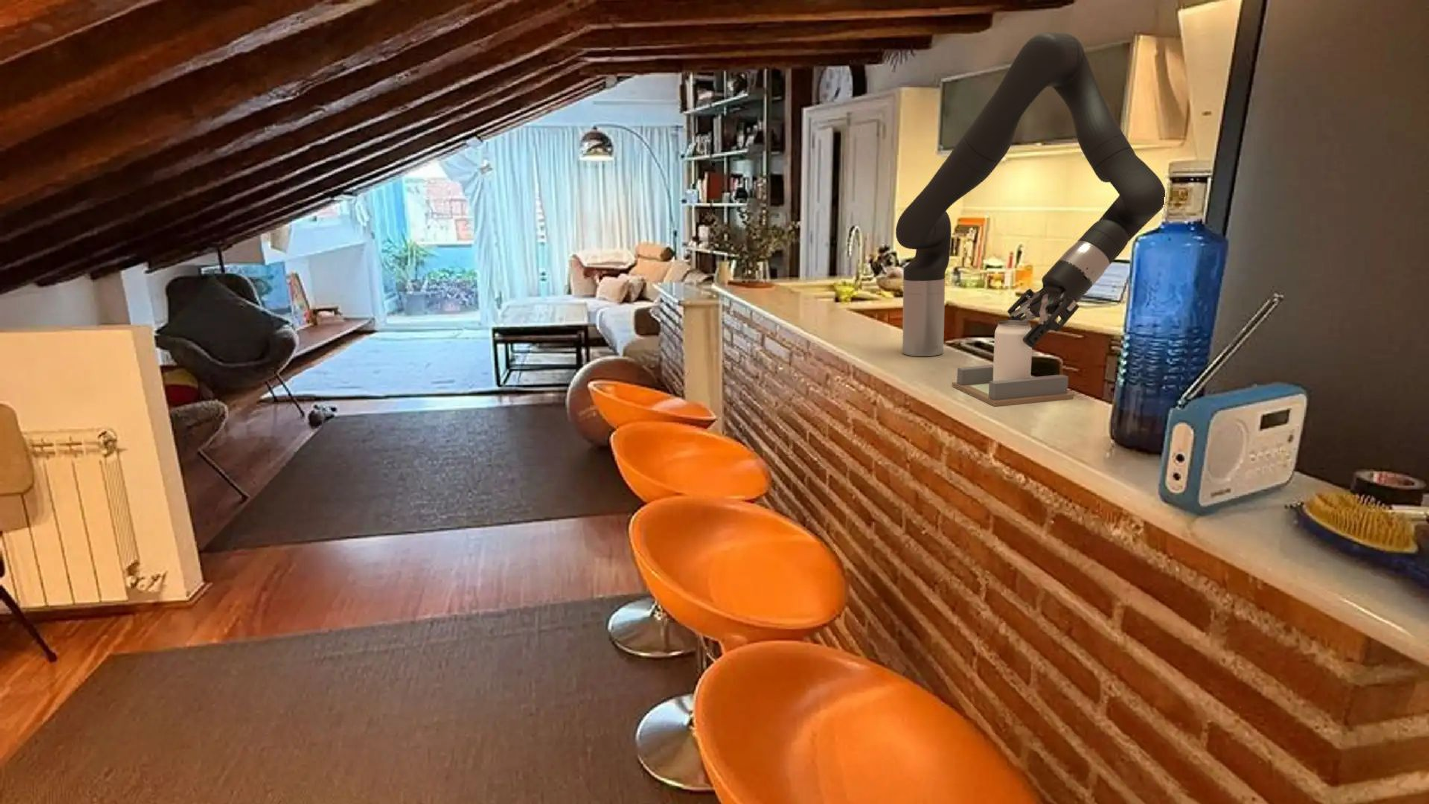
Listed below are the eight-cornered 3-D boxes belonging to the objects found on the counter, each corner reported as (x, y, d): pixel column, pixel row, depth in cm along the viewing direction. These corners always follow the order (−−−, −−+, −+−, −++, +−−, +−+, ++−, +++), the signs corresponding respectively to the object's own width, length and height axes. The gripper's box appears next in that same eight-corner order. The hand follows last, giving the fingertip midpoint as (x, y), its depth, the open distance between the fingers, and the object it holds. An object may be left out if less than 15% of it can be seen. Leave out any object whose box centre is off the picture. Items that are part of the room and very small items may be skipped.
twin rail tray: (952, 386, 153) (952, 367, 152) (1023, 379, 156) (1024, 360, 155) (994, 406, 138) (995, 385, 137) (1073, 398, 140) (1074, 377, 140)
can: (1023, 382, 150) (1027, 319, 147) (1034, 390, 143) (1038, 325, 140) (988, 383, 150) (991, 320, 147) (997, 392, 144) (1000, 326, 141)
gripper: (1040, 256, 149) (981, 321, 150) (1087, 261, 136) (1022, 332, 137) (1064, 282, 151) (1006, 346, 152) (1113, 290, 138) (1048, 360, 139)
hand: (1013, 339), depth 145 cm, fingers open, 8 cm apart
